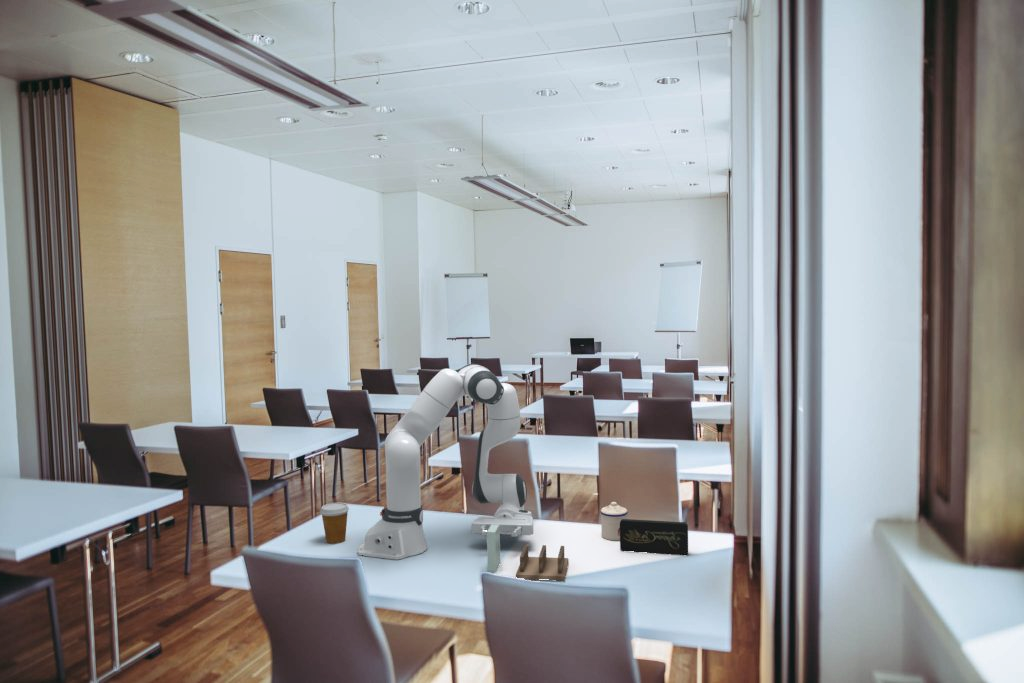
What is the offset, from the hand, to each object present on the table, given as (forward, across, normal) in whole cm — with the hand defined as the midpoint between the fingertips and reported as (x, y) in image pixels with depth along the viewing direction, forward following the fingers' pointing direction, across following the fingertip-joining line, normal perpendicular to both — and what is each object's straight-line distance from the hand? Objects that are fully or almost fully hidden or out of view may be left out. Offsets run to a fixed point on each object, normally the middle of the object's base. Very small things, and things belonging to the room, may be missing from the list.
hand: (498, 534), depth 212 cm
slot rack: (+10, +15, +7) cm, 20 cm away
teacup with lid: (-23, +36, +7) cm, 43 cm away
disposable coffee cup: (-9, -59, +8) cm, 60 cm away
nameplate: (-8, +48, +7) cm, 49 cm away
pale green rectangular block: (+9, 0, +7) cm, 11 cm away
